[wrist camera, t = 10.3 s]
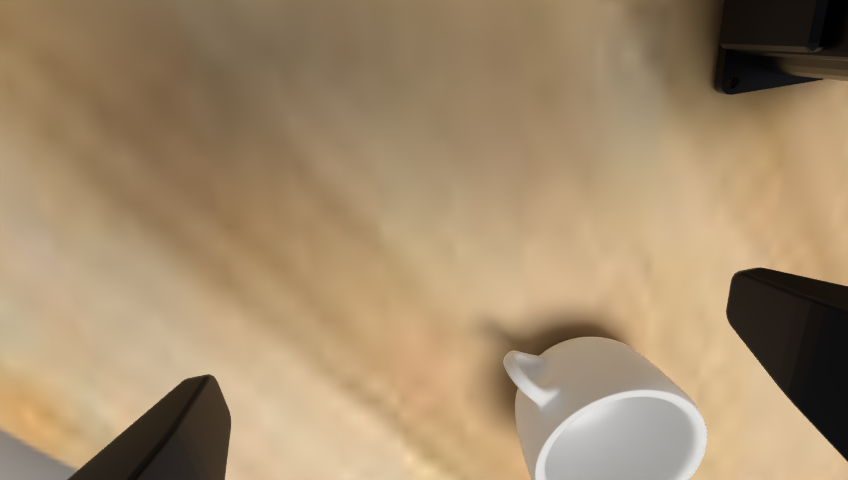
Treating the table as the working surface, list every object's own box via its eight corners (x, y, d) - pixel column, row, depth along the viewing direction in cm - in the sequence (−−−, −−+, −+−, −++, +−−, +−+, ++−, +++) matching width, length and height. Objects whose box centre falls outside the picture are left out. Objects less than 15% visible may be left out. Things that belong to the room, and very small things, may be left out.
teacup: (666, 360, 25) (742, 439, 20) (565, 450, 27) (613, 543, 22) (543, 262, 22) (598, 329, 17) (436, 373, 24) (458, 463, 19)
